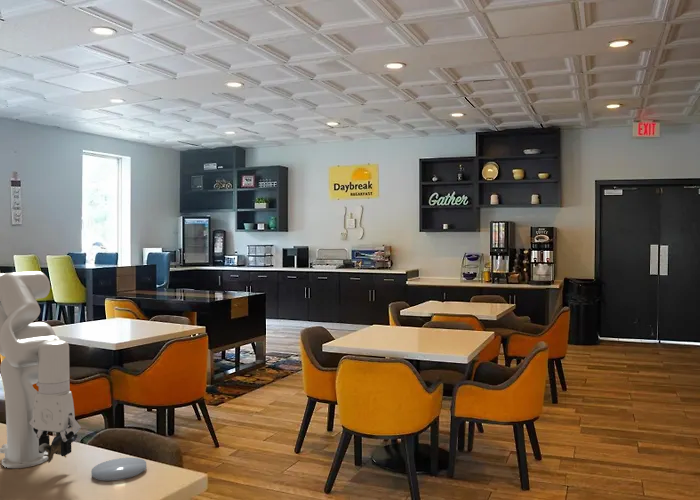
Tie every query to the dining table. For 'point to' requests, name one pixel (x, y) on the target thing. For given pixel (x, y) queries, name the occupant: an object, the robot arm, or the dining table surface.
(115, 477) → the smooth grey pebble
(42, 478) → the dining table surface
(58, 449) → the eagle figurine
